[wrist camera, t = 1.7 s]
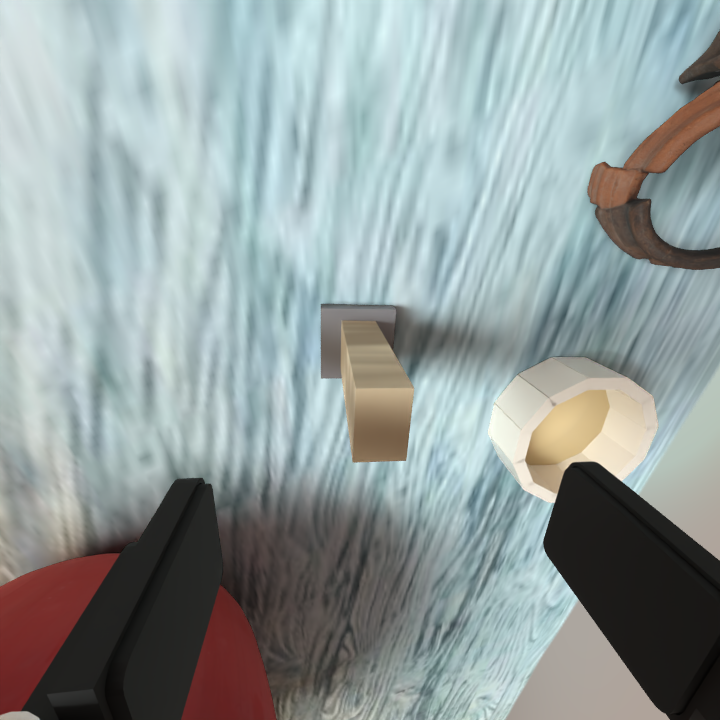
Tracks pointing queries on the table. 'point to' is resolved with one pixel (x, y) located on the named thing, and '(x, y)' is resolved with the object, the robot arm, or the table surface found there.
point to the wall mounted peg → (368, 378)
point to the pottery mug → (655, 155)
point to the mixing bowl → (67, 603)
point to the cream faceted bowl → (570, 422)
